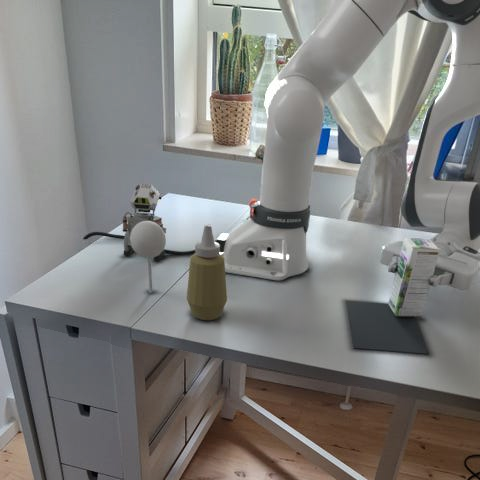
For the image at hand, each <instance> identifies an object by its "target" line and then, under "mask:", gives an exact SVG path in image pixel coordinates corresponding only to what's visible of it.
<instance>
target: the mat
mask: <svg viewBox="0 0 480 480" xmlns="http://www.w3.org/2000/svg"><path fill="white" fill-rule="evenodd" d="M345 303H346V309H347V314H348V315H347V316H348V321H349V327H350V335H351V340H352V345H353V349H355V350H367V351H377V352H378V351H379V352H389V353H391V352H393V353H403V354H404V353H405V354H416V355H429V351H428V348H427V345H426V342H425V339H424V337H423V334H422V331H421V329H420V327H419V323H418V320H417V318H416V317H417V316H395V314H394V312H393V311H392V309H391V307H390V306H389V303H383V302H372V301H371V302H370V301H358V300H345Z"/></svg>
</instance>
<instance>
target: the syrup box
mask: <svg viewBox="0 0 480 480" xmlns="http://www.w3.org/2000/svg"><path fill="white" fill-rule="evenodd" d="M403 241H404V242H403V246H402V250H401V254H400V258H399V262H398V266H397V270H396V273H394V278H393V283H392V287H391V290H390V295H389V299H388V304H389V306H390V307H391V309H392V311H393V312H394V314H395V316H415V317H422V315H423V311H424V309H425V304H426V301H427V298H428V294H429V290H430V287H431V286H430V285H429V282H430V278H431V277H432V276H433V273H434V270H435V266H436V263H437V259H438V256H439V252H440V249H439V248H438V247H437V246H436V245H435V244H434V243H433V242H432V240H431V238H425V237H404V239H403Z"/></svg>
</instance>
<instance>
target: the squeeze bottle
mask: <svg viewBox="0 0 480 480" xmlns="http://www.w3.org/2000/svg"><path fill="white" fill-rule="evenodd" d="M214 238H215V237H214V232H213V228H212V224H209V223H206V224H204V226H203V231H202V236H201V240H200V241H197V242H196V243H195V245H194V246H195V247H194V250H195V254H191V255H190V259H189V271H188V279H187V282H188V283H187V291H186V301H187V303H188V306H189V309H190V312H191V314H192V316H193V317H194V318H195V319H198V320H201V321H213V320H216V319H219V318H220V317H221V315H222V314H223V311H224V309H225V307H226V304H227V302H228V292H227V291H228V289H227V277H226V275H227V274H226V272H225V260H224V257H223V256H222V255H221V254H220V245H219V244H218V243H217V242H214V241H215V239H214Z"/></svg>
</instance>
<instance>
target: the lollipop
mask: <svg viewBox="0 0 480 480" xmlns="http://www.w3.org/2000/svg"><path fill="white" fill-rule="evenodd" d="M166 237H167V236H166V233H164V231H163V229H162V228H161V227H160V226H159V225H158V224H157V223H155V222H152V221H142V222H140V223H138V224H137V225H136V226H135V227H134V228H133V229H132V231H131V235H130V242H131V245H132V248H133V249H134V253H135V254H137V255H139V257H142V258H145V259H147V275H148V276H147V277H148V292H149V294H153V276H152V274H153V273H152V258H153V259H154V257H156V256H158V255H159V254H160V253H161V252H162V251H163V249H165V247H166V243H167V238H166Z"/></svg>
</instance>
